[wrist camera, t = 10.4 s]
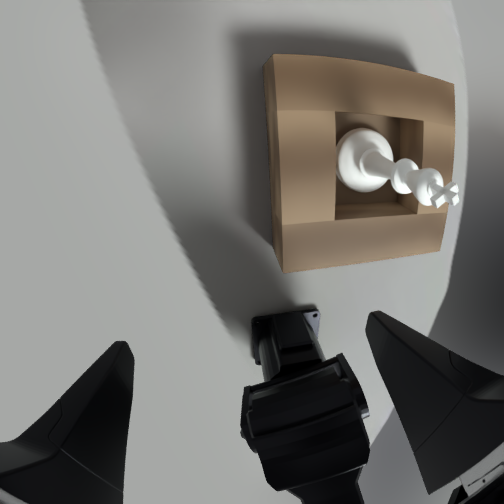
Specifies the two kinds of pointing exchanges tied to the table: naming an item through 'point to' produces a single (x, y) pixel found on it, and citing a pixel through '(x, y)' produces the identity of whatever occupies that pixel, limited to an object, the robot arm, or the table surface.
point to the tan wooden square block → (324, 159)
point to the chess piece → (387, 170)
